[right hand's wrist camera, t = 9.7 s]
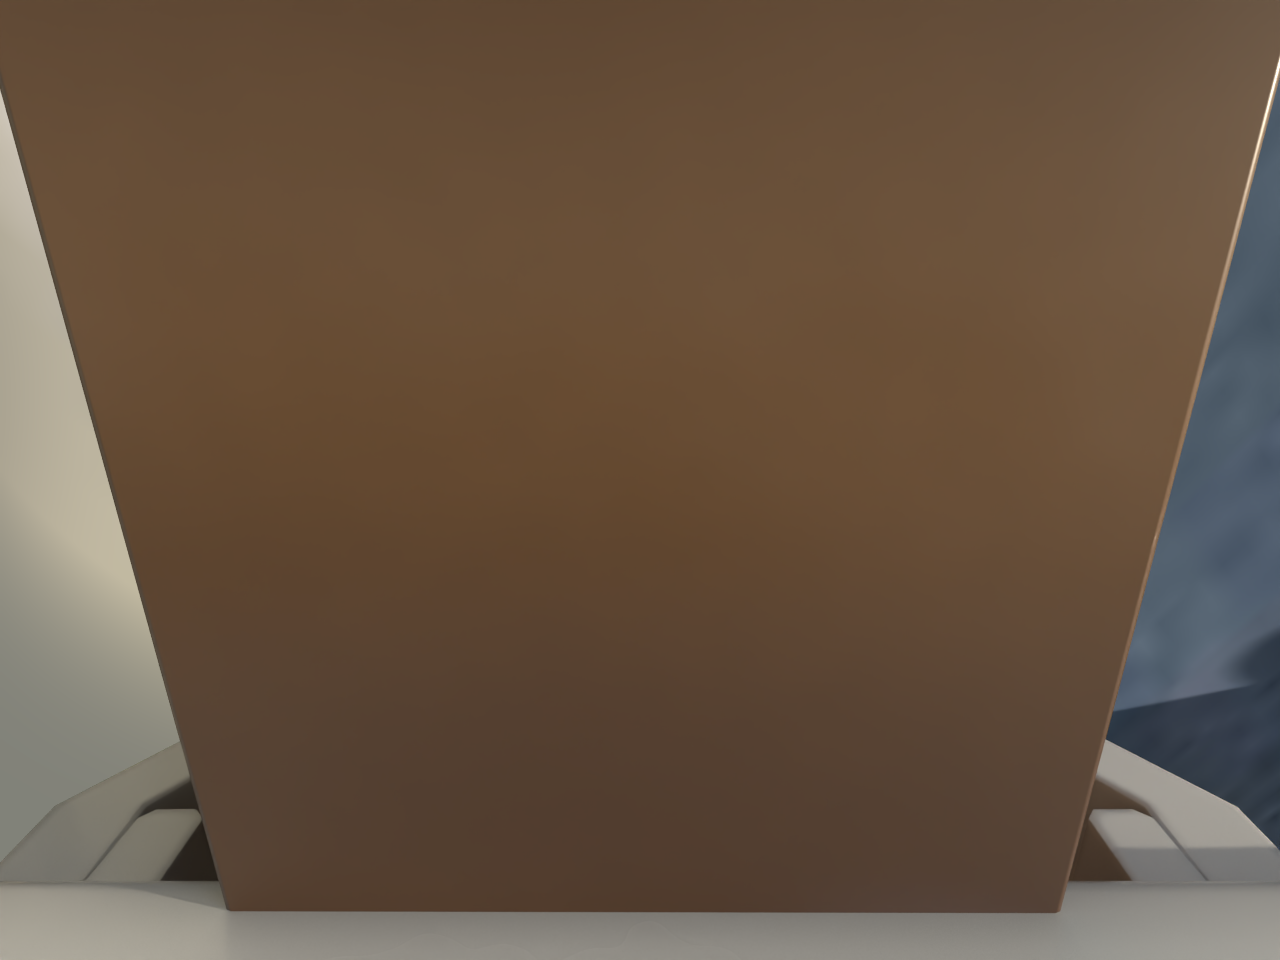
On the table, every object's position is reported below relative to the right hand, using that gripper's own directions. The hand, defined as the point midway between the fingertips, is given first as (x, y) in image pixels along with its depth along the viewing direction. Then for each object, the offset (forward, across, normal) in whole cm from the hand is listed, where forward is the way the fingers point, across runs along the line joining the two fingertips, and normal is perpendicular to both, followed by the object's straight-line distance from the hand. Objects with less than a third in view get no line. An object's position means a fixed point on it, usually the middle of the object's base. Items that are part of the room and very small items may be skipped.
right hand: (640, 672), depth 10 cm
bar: (+4, 0, -7) cm, 8 cm away
